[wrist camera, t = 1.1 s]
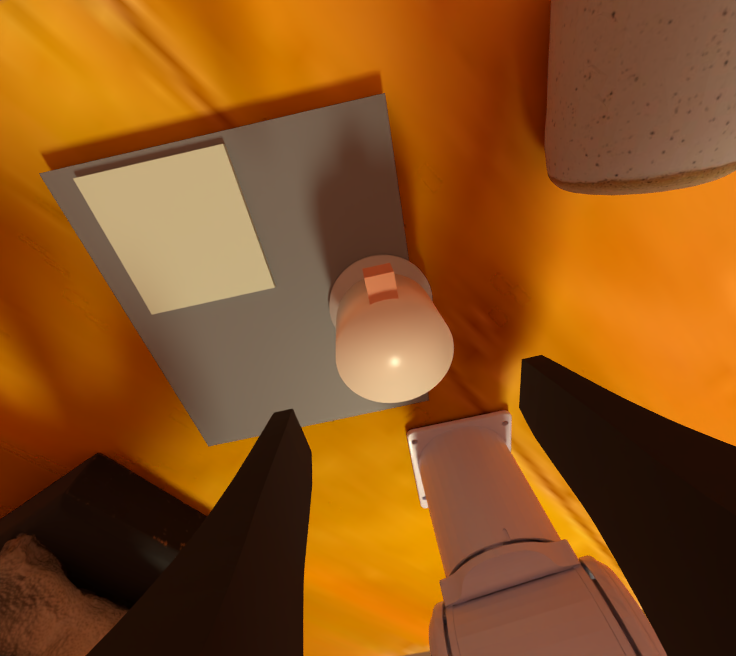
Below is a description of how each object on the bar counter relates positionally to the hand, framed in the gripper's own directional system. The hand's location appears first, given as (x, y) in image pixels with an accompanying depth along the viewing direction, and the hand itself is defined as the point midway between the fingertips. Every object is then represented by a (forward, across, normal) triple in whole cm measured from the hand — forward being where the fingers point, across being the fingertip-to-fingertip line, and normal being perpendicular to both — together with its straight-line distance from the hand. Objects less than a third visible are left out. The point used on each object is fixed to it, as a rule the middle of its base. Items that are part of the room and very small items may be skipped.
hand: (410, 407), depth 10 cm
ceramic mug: (+11, -13, -8) cm, 19 cm away
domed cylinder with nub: (+8, 0, +1) cm, 8 cm away
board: (+11, +6, 0) cm, 12 cm away
